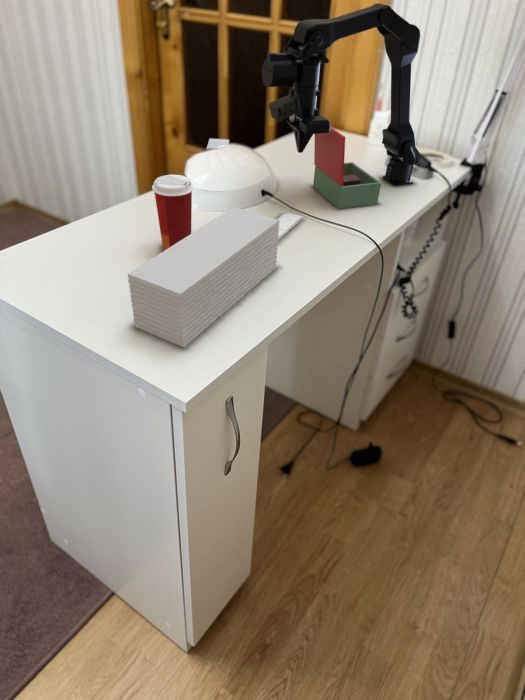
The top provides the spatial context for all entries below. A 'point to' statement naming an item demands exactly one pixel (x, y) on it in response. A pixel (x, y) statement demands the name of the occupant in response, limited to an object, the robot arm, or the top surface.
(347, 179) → the walnut block
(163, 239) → the coffee cup
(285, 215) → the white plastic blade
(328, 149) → the lid
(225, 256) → the stack of papers
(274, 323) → the top surface
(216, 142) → the small box
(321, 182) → the box
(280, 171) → the top surface
